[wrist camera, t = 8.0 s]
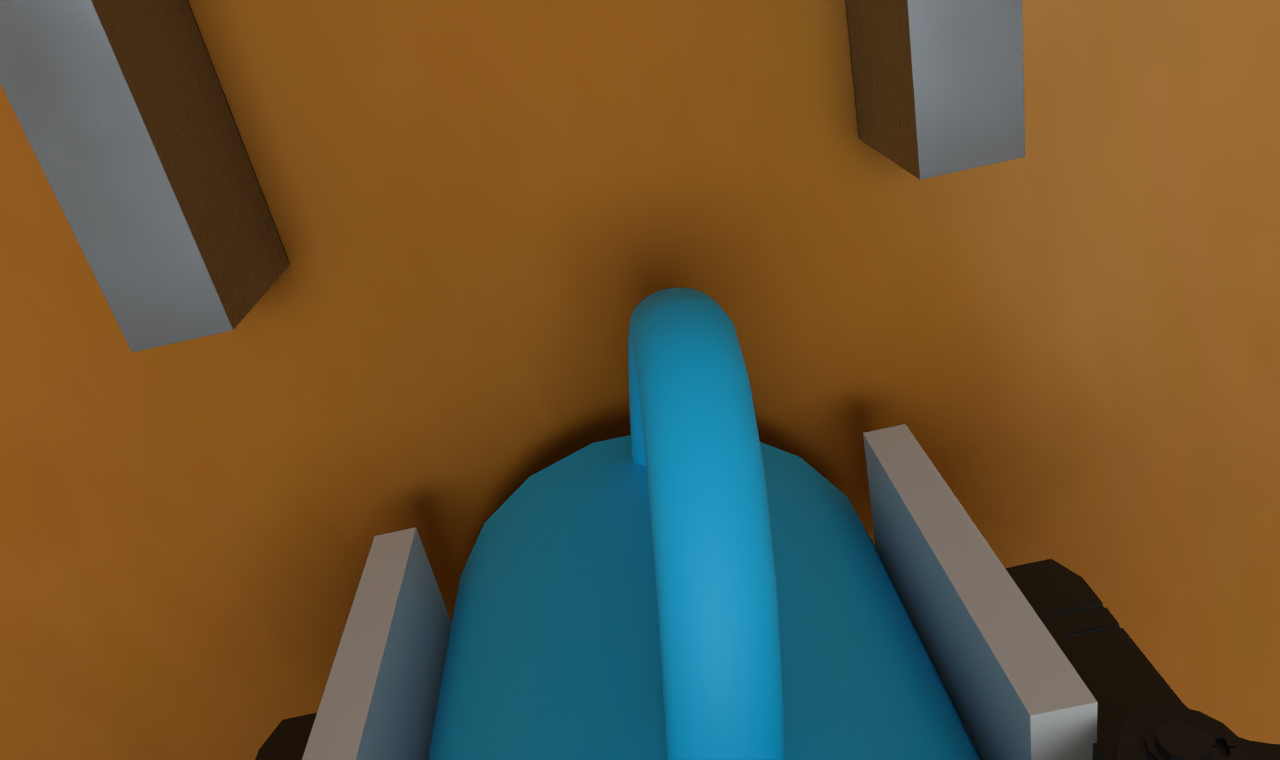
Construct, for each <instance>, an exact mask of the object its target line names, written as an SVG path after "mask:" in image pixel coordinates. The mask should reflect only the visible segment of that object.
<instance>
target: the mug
mask: <svg viewBox="0 0 1280 760" xmlns="http://www.w3.org/2000/svg"><path fill="white" fill-rule="evenodd" d="M628 375H629V403H630V429H631V435H628V436H623V437H619V438H614V439H609V440H604V441H600V442H595V443H591V444H590V445H588V446H586V447H584V448H582V449H580V450H578V451H576V452H575V453H573V454H571V455H569V456H567V457H565V458H563V459H561V460H560V461H558V462H556V463H554V464H552V465H550V466H548V467H546V468H545V469H543V470H541V471H539V472H537V473H535V474H533V475H532V476H530V477H529V478H528V479H527V480H526V481H525V482H524V483H523V484H522V485H521V486H520V487H519V488H518V489H517V490H516V491H515V492H514V493H513V494H512V495H511V496H510V497H509V498H508V499H507V500H506V501H505V502H504V503H503V504H502V506H501V507H500V508H499V509H498V510H497V511H496V512H495V513H494V514H493V515H492V516H491V517H490V518H489V519H488V520H487V521H486V522H485V523H484V525H483V527H482V530H481V532H480V534H479V536H478V538H477V541H476V543H475V545H474V547H473V549H472V552H471V554H470V556H469V558H468V561H467V563H466V565H465V567H464V569H463V572H462V574H461V576H460V581H459V586H458V592H457V598H456V603H455V609H454V615H453V620H452V626H451V632H450V637H449V643H448V649H447V654H446V660H445V666H444V671H443V677H442V682H441V688H440V694H439V699H438V705H437V711H436V716H435V722H434V728H433V733H432V739H431V745H430V750H429V756H428V760H981V758H980V756H979V754H978V752H977V750H976V748H975V746H974V744H973V742H972V740H971V738H970V736H969V734H968V732H967V730H966V728H965V726H964V724H963V722H962V720H961V718H960V716H959V714H958V712H957V710H956V708H955V706H954V704H953V702H952V700H951V698H950V696H949V694H948V692H947V690H946V688H945V686H944V684H943V682H942V680H941V678H940V676H939V674H938V672H937V670H936V668H935V666H934V664H933V662H932V660H931V658H930V656H929V654H928V652H927V650H926V648H925V646H924V644H923V642H922V640H921V638H920V636H919V634H918V632H917V630H916V628H915V626H914V624H913V622H912V620H911V618H910V616H909V614H908V612H907V610H906V608H905V606H904V604H903V602H902V600H901V598H900V596H899V594H898V592H897V590H896V588H895V586H894V584H893V582H892V580H891V578H890V576H889V574H888V572H887V570H886V568H885V566H884V564H883V562H882V560H881V558H880V556H879V554H878V552H877V550H876V547H875V545H874V544H873V542H872V540H871V538H870V536H869V535H868V533H867V531H866V529H865V527H864V526H863V524H862V522H861V520H860V518H859V517H858V515H857V513H856V511H855V509H854V508H853V506H852V504H851V502H850V500H849V499H848V497H847V496H846V495H845V494H844V493H843V492H842V491H840V490H839V489H838V488H837V487H835V486H834V485H833V484H832V483H831V482H829V481H828V480H827V479H826V478H825V477H823V476H822V475H821V474H820V473H819V472H817V471H816V470H815V469H814V468H813V467H811V466H810V465H809V464H808V463H806V462H805V461H804V460H803V459H802V458H800V457H799V456H796V455H793V454H791V453H788V452H786V451H783V450H780V449H778V448H775V447H772V446H770V445H767V444H764V443H762V442H760V440H759V434H758V428H757V422H756V416H755V410H754V404H753V398H752V392H751V386H750V381H749V377H748V373H747V370H746V366H745V362H744V359H743V355H742V352H741V348H740V345H739V341H738V338H737V334H736V330H735V327H734V324H733V322H732V321H731V320H730V318H729V317H728V316H727V314H726V313H725V312H724V311H723V310H722V308H721V307H720V306H719V305H718V304H717V303H716V301H715V300H714V299H712V298H711V297H709V296H708V295H706V294H705V293H703V292H700V291H697V290H694V289H691V288H670V289H664V290H660V291H658V292H655V293H653V294H651V295H649V296H647V297H646V298H645V299H643V300H642V301H641V302H640V303H639V304H638V305H637V306H636V308H635V310H634V311H633V313H632V315H631V320H630V327H629V337H628Z"/></svg>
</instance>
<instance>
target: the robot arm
mask: <svg viewBox="0 0 1280 760" xmlns="http://www.w3.org/2000/svg"><path fill="white" fill-rule="evenodd" d="M863 438H864V447H865V456H866V465H867V474H868V483H869V492H870V501H871V510H872V519H873V528H874V537H875V546H876V550H877V552H878V554H879V556H880V558H881V560H882V562H883V564H884V566H885V568H886V570H887V572H888V574H889V576H890V578H891V580H892V582H893V584H894V586H895V588H896V590H897V592H898V594H899V596H900V598H901V600H902V602H903V604H904V606H905V608H906V610H907V612H908V614H909V616H910V618H911V620H912V622H913V624H914V626H915V628H916V630H917V632H918V634H919V636H920V638H921V640H922V642H923V644H924V646H925V648H926V650H927V652H928V654H929V656H930V658H931V660H932V662H933V664H934V666H935V668H936V670H937V672H938V674H939V676H940V678H941V680H942V682H943V684H944V686H945V688H946V690H947V692H948V694H949V696H950V698H951V700H952V702H953V704H954V706H955V708H956V710H957V712H958V714H959V716H960V718H961V720H962V722H963V724H964V726H965V728H966V730H967V732H968V734H969V736H970V738H971V740H972V742H973V744H974V746H975V748H976V750H977V752H978V754H979V756H980V758H981V760H1280V745H1279V744H1268V743H1262V742H1255V741H1249V740H1246V739H1243V738H1239V737H1238V736H1236V735H1235V734H1234V733H1233V732H1232V731H1231V730H1230V729H1229V728H1228V727H1226V726H1225V725H1224V724H1223V723H1221V722H1219V721H1217V720H1215V719H1213V718H1211V717H1209V716H1207V715H1205V714H1203V713H1201V712H1199V711H1195V710H1191V709H1188V708H1187V707H1186V706H1185V705H1184V704H1183V703H1182V702H1181V700H1180V699H1179V698H1178V697H1177V695H1176V694H1175V693H1174V692H1173V690H1172V689H1171V688H1170V687H1169V685H1168V684H1167V683H1166V682H1165V680H1164V679H1163V678H1162V677H1161V675H1160V674H1159V673H1158V672H1157V670H1156V669H1155V668H1154V667H1153V665H1152V664H1151V663H1150V662H1149V660H1148V659H1147V658H1146V657H1145V655H1144V654H1143V653H1142V652H1141V650H1140V649H1139V648H1138V647H1137V645H1136V644H1135V643H1134V642H1133V640H1132V639H1131V638H1130V637H1129V635H1128V634H1127V633H1126V632H1125V630H1124V629H1123V628H1120V627H1119V623H1118V622H1117V620H1116V619H1115V618H1114V617H1113V615H1112V614H1111V613H1110V612H1109V610H1108V609H1107V608H1104V607H1103V605H1102V602H1101V600H1100V599H1099V598H1098V597H1097V595H1096V594H1095V593H1094V592H1093V590H1092V589H1091V588H1090V587H1089V585H1088V584H1087V583H1086V582H1085V580H1084V579H1083V578H1082V577H1080V576H1079V575H1077V574H1075V573H1074V572H1072V571H1070V570H1069V569H1067V568H1065V567H1064V566H1062V565H1060V564H1059V563H1057V562H1055V561H1054V560H1052V559H1048V560H1043V561H1038V562H1034V563H1029V564H1024V565H1019V566H1014V567H1009V568H1005V567H1004V566H1003V565H1002V563H1001V562H1000V560H999V559H998V557H997V556H996V554H995V553H994V552H993V550H992V549H991V547H990V546H989V544H988V543H987V541H986V540H985V538H984V537H983V536H982V534H981V533H980V531H979V530H978V528H977V527H976V525H975V524H974V523H973V521H972V520H971V518H970V517H969V515H968V514H967V512H966V511H965V510H964V508H963V507H962V505H961V504H960V502H959V501H958V499H957V498H956V496H955V495H954V494H953V492H952V491H951V489H950V488H949V486H948V485H947V483H946V482H945V481H944V479H943V478H942V476H941V475H940V473H939V472H938V470H937V469H936V468H935V466H934V465H933V463H932V462H931V460H930V459H929V457H928V456H927V454H926V453H925V452H924V450H923V449H922V447H921V446H920V444H919V443H918V441H917V440H916V439H915V437H914V436H913V434H912V433H911V431H910V430H909V428H908V427H907V426H906V424H903V425H898V426H893V427H889V428H884V429H879V430H874V431H870V432H865V433H863ZM451 626H452V622H451V619H450V616H449V614H448V611H447V609H446V606H445V603H444V601H443V598H442V595H441V593H440V590H439V587H438V585H437V582H436V579H435V577H434V574H433V571H432V569H431V566H430V563H429V561H428V558H427V555H426V553H425V550H424V547H423V545H422V542H421V539H420V537H419V534H418V531H417V529H416V527H415V528H410V529H406V530H401V531H396V532H391V533H387V534H382V535H377V536H374V540H373V543H372V546H371V549H370V552H369V555H368V558H367V561H366V564H365V567H364V570H363V573H362V576H361V579H360V583H359V586H358V589H357V592H356V595H355V598H354V601H353V604H352V607H351V610H350V613H349V616H348V619H347V623H346V626H345V629H344V632H343V635H342V638H341V641H340V644H339V647H338V650H337V653H336V656H335V659H334V663H333V666H332V669H331V672H330V675H329V678H328V681H327V684H326V687H325V690H324V693H323V696H322V699H321V702H320V706H319V709H318V712H317V713H313V714H309V715H304V716H299V717H294V718H289V719H284V720H282V721H281V723H280V724H279V725H278V726H277V728H276V729H275V730H274V731H273V733H272V734H271V735H270V736H269V738H268V739H267V740H266V741H265V743H264V744H263V745H262V747H261V748H260V749H259V751H258V754H257V757H256V759H255V760H428V756H429V750H430V745H431V739H432V733H433V728H434V722H435V716H436V711H437V705H438V699H439V694H440V688H441V682H442V677H443V671H444V666H445V660H446V654H447V649H448V643H449V637H450V632H451Z"/></svg>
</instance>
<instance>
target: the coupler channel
mask: <svg viewBox="0 0 1280 760" xmlns="http://www.w3.org/2000/svg"><path fill="white" fill-rule="evenodd" d="M846 9H847V19H848V29H849V40H850V50H851V60H852V70H853V80H854V91H855V101H856V111H857V121H858V131H859V139H860V140H862V141H863V142H865V143H866V144H868V145H869V146H871V147H872V148H874V149H875V150H877V151H878V152H880V153H881V154H883V155H884V156H886V157H887V158H889V159H890V160H892V161H893V162H895V163H896V164H898V165H899V166H900V167H902V168H903V169H905V170H906V171H908V172H909V173H911V174H912V175H914V176H915V177H917V178H918V179H925V178H930V177H934V176H939V175H943V174H948V173H952V172H957V171H961V170H966V169H971V168H975V167H980V166H984V165H989V164H993V163H998V162H1003V161H1007V160H1012V159H1016V158H1021V157H1025V129H1024V79H1023V30H1022V0H846ZM0 83H1V85H2V87H3V89H4V91H5V93H6V95H7V97H8V99H9V101H10V103H11V105H12V107H13V110H14V112H15V114H16V116H17V118H18V120H19V122H20V124H21V126H22V128H23V130H24V132H25V134H26V136H27V138H28V140H29V142H30V144H31V146H32V148H33V150H34V153H35V155H36V157H37V159H38V161H39V163H40V165H41V167H42V169H43V171H44V173H45V175H46V177H47V179H48V181H49V183H50V185H51V187H52V189H53V191H54V193H55V196H56V198H57V200H58V202H59V204H60V206H61V208H62V210H63V212H64V214H65V216H66V218H67V220H68V222H69V224H70V226H71V228H72V230H73V232H74V234H75V236H76V239H77V241H78V243H79V245H80V247H81V249H82V251H83V253H84V255H85V257H86V259H87V261H88V263H89V265H90V267H91V269H92V271H93V273H94V275H95V277H96V279H97V281H98V284H99V286H100V288H101V290H102V292H103V294H104V296H105V298H106V300H107V302H108V304H109V306H110V308H111V310H112V312H113V314H114V316H115V318H116V320H117V322H118V324H119V327H120V329H121V331H122V333H123V335H124V337H125V339H126V341H127V343H128V345H129V347H130V349H131V351H132V352H135V351H140V350H144V349H149V348H154V347H158V346H163V345H167V344H172V343H176V342H181V341H185V340H190V339H195V338H199V337H204V336H208V335H213V334H217V333H222V332H227V331H231V330H234V329H235V327H236V326H237V325H238V324H239V323H240V322H241V320H242V319H243V318H244V317H245V316H246V315H247V313H248V312H249V311H250V310H251V309H252V308H253V306H254V305H255V304H256V303H257V302H258V301H259V299H260V298H261V297H262V296H263V295H264V294H265V292H266V291H267V290H268V289H269V288H270V287H271V286H272V284H273V283H274V282H275V281H276V280H277V279H278V277H279V276H280V275H281V274H282V273H283V272H284V270H285V269H286V268H287V267H288V266H289V265H290V264H289V262H288V259H287V256H286V254H285V251H284V249H283V246H282V244H281V241H280V238H279V236H278V233H277V231H276V228H275V226H274V223H273V220H272V218H271V215H270V213H269V210H268V208H267V205H266V202H265V200H264V197H263V195H262V192H261V189H260V187H259V184H258V182H257V179H256V177H255V174H254V171H253V169H252V166H251V164H250V161H249V159H248V156H247V153H246V151H245V148H244V146H243V143H242V141H241V138H240V135H239V133H238V130H237V128H236V125H235V123H234V120H233V117H232V115H231V112H230V110H229V107H228V105H227V102H226V99H225V97H224V94H223V92H222V89H221V87H220V84H219V81H218V79H217V76H216V74H215V71H214V68H213V66H212V63H211V61H210V58H209V56H208V53H207V50H206V48H205V45H204V43H203V40H202V38H201V35H200V32H199V30H198V27H197V25H196V22H195V20H194V17H193V14H192V12H191V9H190V7H189V4H188V2H187V0H0Z"/></svg>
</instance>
